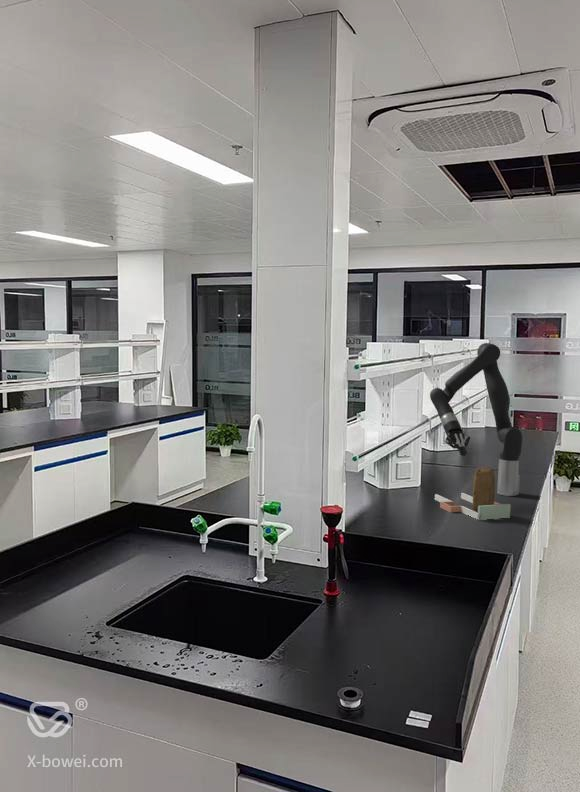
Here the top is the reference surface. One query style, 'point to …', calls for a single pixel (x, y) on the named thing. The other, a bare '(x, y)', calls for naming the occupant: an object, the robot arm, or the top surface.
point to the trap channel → (483, 511)
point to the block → (483, 487)
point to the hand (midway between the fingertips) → (464, 455)
